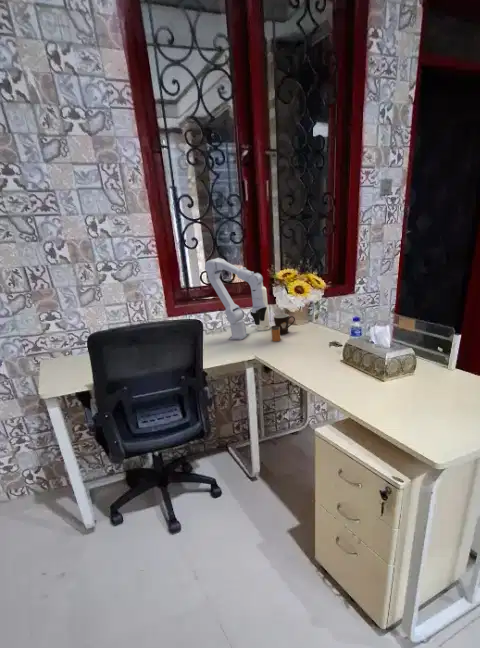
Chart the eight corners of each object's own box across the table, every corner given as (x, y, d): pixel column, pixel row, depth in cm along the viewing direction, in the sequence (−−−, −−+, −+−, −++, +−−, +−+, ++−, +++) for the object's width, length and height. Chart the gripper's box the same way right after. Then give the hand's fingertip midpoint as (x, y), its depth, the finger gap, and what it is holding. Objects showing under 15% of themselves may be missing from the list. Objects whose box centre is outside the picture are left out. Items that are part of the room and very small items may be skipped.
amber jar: (273, 338, 231) (272, 325, 227) (281, 338, 229) (280, 325, 225) (271, 341, 227) (269, 327, 223) (279, 341, 225) (278, 328, 222)
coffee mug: (274, 335, 235) (272, 318, 231) (276, 331, 243) (274, 314, 238) (294, 334, 234) (293, 317, 229) (295, 330, 241) (294, 313, 236)
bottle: (270, 326, 253) (266, 278, 239) (268, 330, 246) (264, 281, 232) (257, 326, 254) (252, 279, 241) (255, 330, 247) (250, 282, 234)
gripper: (259, 300, 213) (262, 326, 220) (268, 294, 225) (271, 319, 232) (246, 300, 215) (249, 326, 222) (256, 294, 227) (259, 318, 234)
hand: (259, 322), depth 227 cm, fingers open, 7 cm apart
